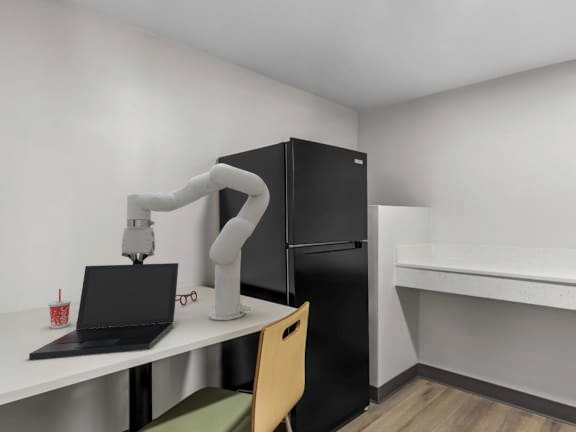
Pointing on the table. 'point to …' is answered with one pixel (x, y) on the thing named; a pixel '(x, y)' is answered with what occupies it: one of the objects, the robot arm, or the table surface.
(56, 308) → the beverage cup
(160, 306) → the screen
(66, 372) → the table surface
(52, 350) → the laptop
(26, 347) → the table surface
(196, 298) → the glasses
